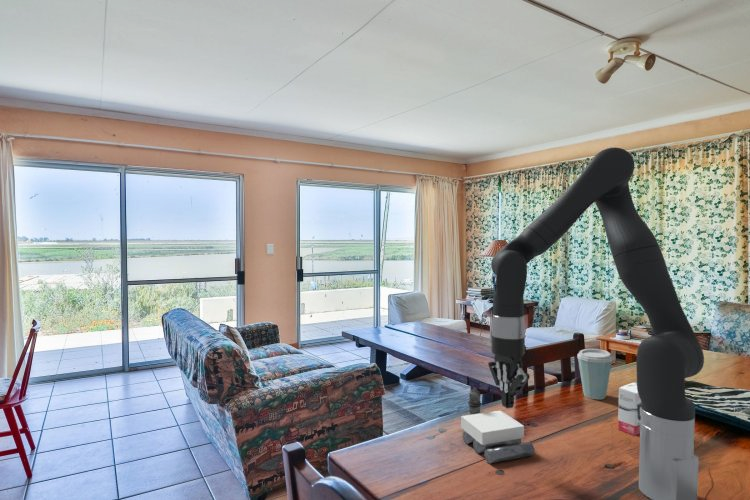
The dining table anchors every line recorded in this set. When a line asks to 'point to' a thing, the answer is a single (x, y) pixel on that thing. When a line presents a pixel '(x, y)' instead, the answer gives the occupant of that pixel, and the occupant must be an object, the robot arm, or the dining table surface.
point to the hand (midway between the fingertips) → (507, 406)
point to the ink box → (629, 409)
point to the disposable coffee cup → (594, 372)
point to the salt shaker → (474, 402)
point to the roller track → (501, 449)
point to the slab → (492, 427)
